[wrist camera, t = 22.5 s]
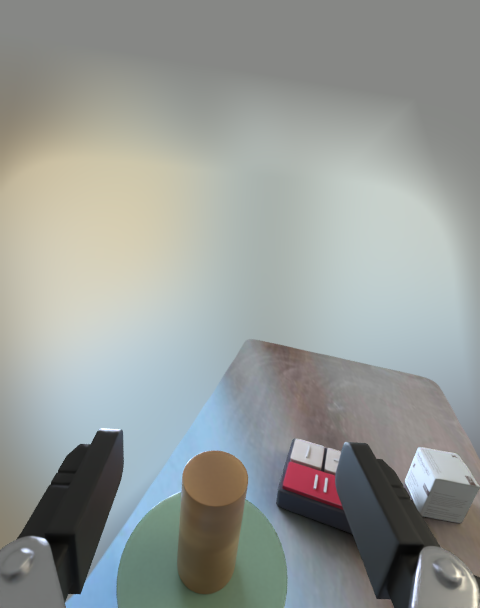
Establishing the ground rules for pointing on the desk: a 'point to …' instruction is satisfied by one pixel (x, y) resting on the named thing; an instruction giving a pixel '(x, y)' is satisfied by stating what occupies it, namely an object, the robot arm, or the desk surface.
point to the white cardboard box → (441, 485)
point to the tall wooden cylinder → (210, 520)
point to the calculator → (312, 484)
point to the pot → (164, 574)
